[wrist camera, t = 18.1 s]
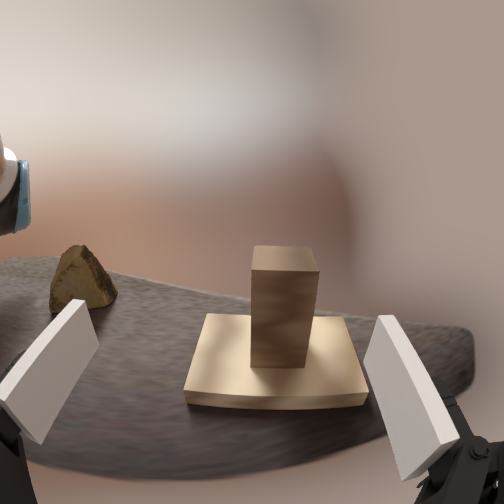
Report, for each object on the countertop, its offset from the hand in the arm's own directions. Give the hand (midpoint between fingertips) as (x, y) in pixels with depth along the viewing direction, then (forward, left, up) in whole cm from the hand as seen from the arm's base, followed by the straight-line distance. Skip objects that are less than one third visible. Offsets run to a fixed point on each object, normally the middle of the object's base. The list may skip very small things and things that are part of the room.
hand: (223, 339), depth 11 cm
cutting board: (+3, +12, -13) cm, 18 cm away
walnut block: (+3, +12, -11) cm, 17 cm away
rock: (-25, +20, -14) cm, 35 cm away
